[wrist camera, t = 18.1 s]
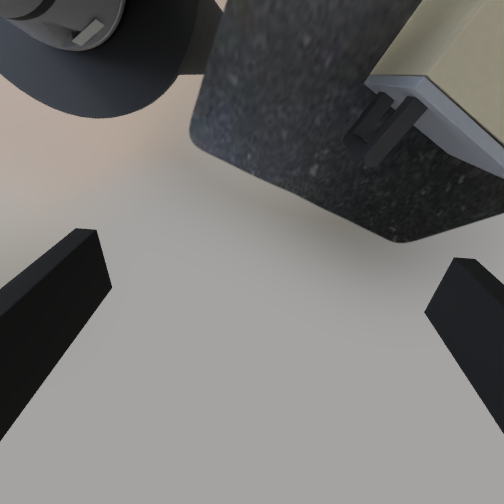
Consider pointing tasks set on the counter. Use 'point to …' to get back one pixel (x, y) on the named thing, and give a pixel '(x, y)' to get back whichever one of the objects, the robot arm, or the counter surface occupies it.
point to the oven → (456, 56)
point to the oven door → (421, 124)
